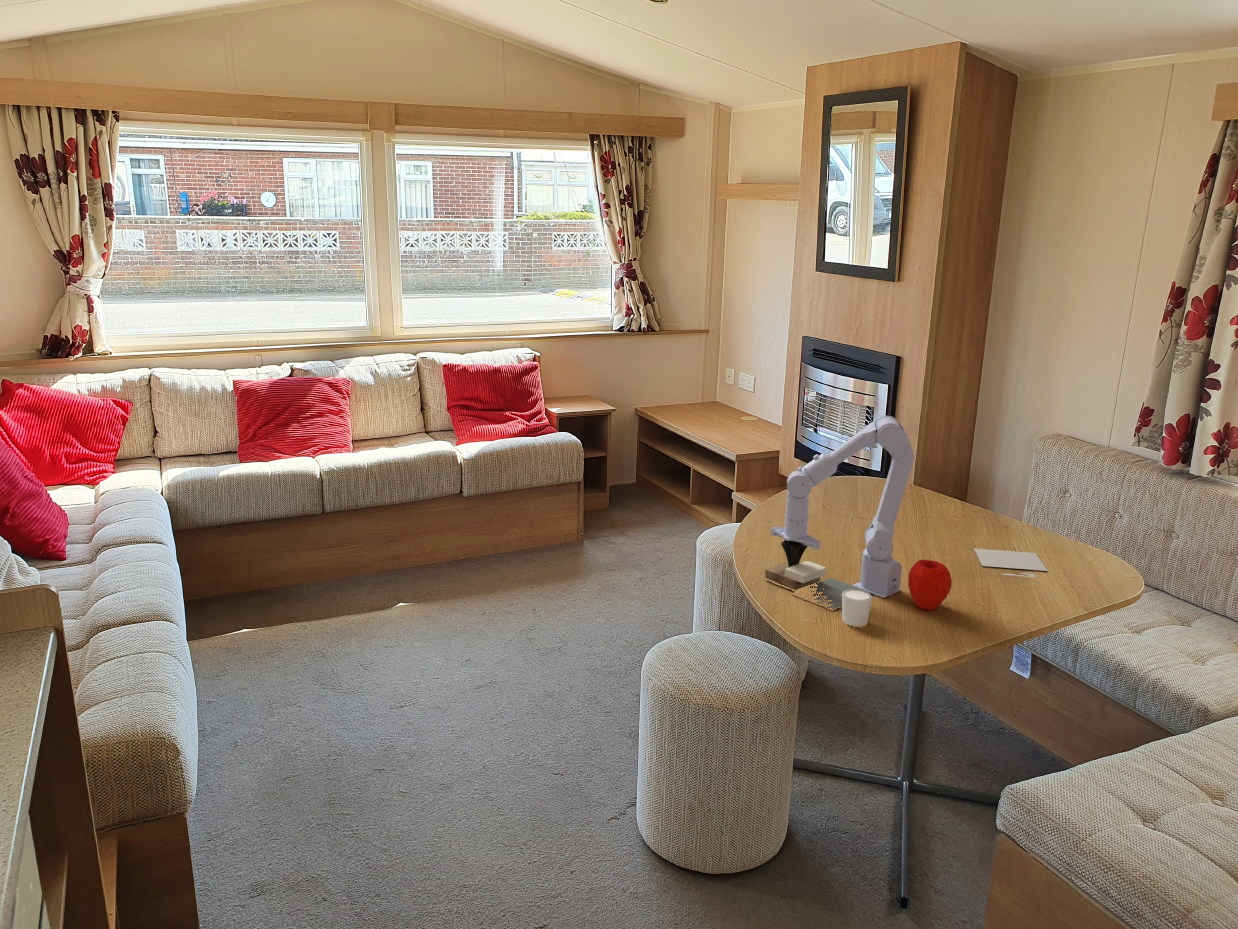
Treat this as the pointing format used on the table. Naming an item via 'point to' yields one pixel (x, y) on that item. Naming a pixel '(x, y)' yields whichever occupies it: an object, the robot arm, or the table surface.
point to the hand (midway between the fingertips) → (793, 568)
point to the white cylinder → (856, 607)
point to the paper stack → (1010, 560)
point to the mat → (833, 591)
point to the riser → (779, 577)
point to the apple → (929, 583)
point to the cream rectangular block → (805, 571)
